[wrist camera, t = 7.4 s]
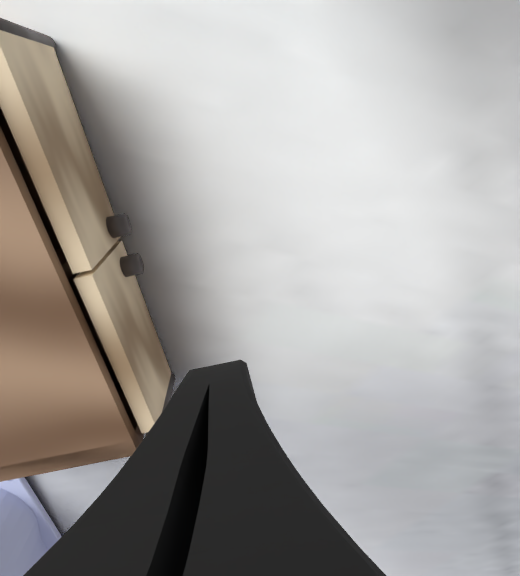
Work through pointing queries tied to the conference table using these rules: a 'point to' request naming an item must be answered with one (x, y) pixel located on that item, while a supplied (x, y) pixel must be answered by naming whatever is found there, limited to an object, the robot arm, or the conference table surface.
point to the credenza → (51, 274)
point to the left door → (128, 333)
